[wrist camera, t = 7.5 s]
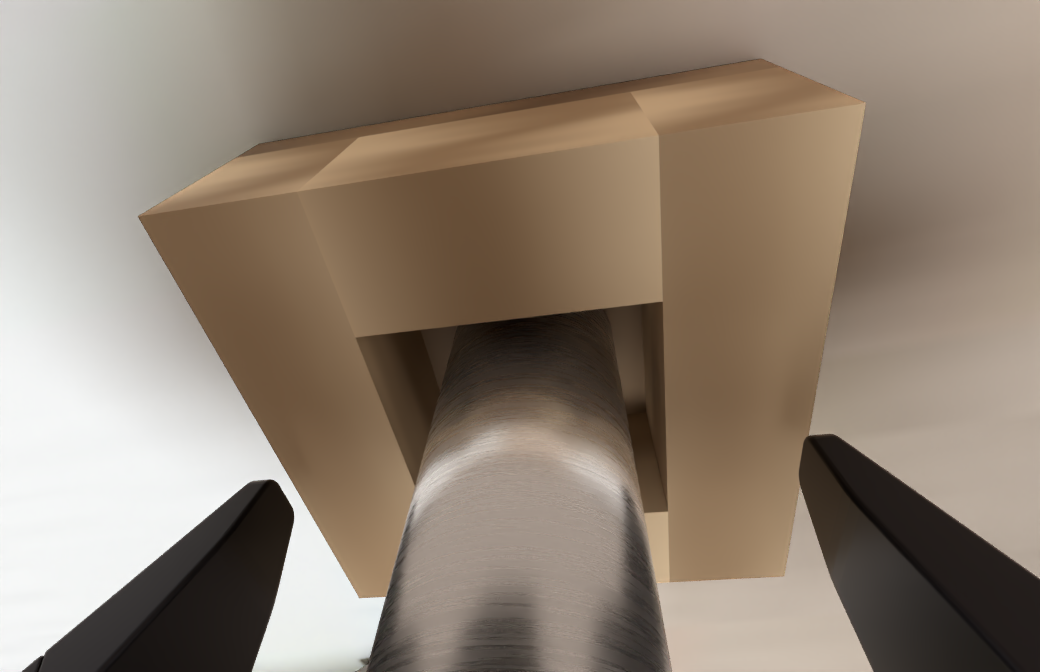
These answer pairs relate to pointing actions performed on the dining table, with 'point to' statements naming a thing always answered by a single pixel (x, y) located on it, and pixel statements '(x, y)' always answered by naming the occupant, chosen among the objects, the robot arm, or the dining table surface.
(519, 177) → the bore block
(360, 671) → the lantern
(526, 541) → the pin
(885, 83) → the dining table surface
